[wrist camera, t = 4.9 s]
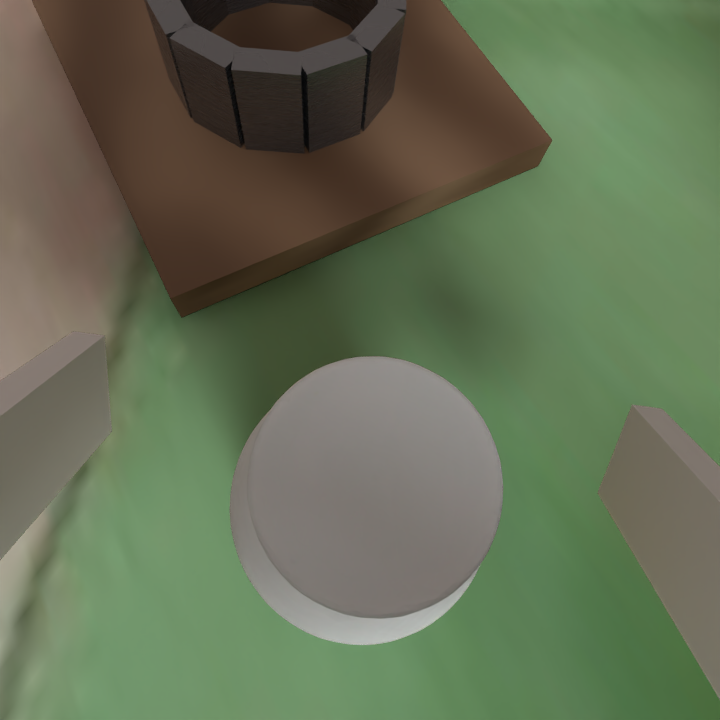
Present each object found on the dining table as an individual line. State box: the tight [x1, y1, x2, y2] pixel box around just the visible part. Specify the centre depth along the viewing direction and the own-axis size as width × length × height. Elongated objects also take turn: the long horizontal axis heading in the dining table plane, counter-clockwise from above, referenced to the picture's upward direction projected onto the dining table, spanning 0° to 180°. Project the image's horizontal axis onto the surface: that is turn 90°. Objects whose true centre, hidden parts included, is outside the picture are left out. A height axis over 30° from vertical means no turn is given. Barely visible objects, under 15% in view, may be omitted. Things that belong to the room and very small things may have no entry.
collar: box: [144, 0, 406, 154], centre depth 20 cm, size 9×9×4 cm
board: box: [32, 0, 552, 318], centre depth 22 cm, size 16×16×2 cm
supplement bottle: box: [230, 356, 503, 645], centre depth 13 cm, size 5×5×10 cm
